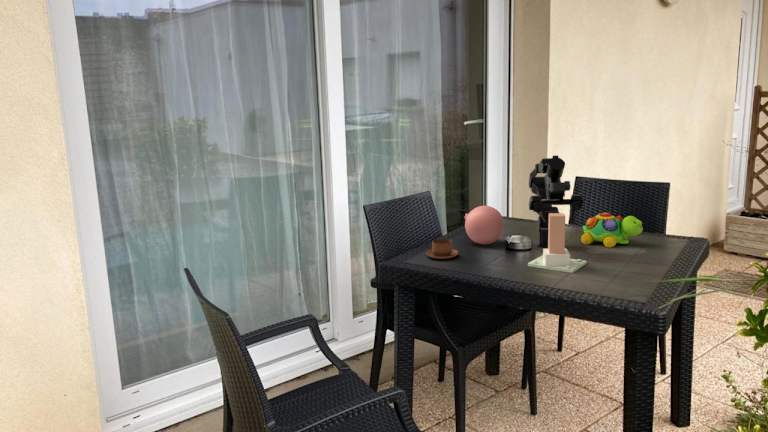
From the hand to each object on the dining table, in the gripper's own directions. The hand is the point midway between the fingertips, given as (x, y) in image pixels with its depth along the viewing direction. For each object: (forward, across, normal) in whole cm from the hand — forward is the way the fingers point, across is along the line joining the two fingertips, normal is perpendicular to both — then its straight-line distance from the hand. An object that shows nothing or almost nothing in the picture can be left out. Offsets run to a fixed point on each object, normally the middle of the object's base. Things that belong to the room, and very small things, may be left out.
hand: (558, 222), depth 225 cm
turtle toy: (-6, +25, +26) cm, 36 cm away
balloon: (-8, -25, +28) cm, 39 cm away
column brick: (+12, -2, 0) cm, 12 cm away
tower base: (+15, -2, +4) cm, 16 cm away
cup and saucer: (+6, -41, +14) cm, 44 cm away
